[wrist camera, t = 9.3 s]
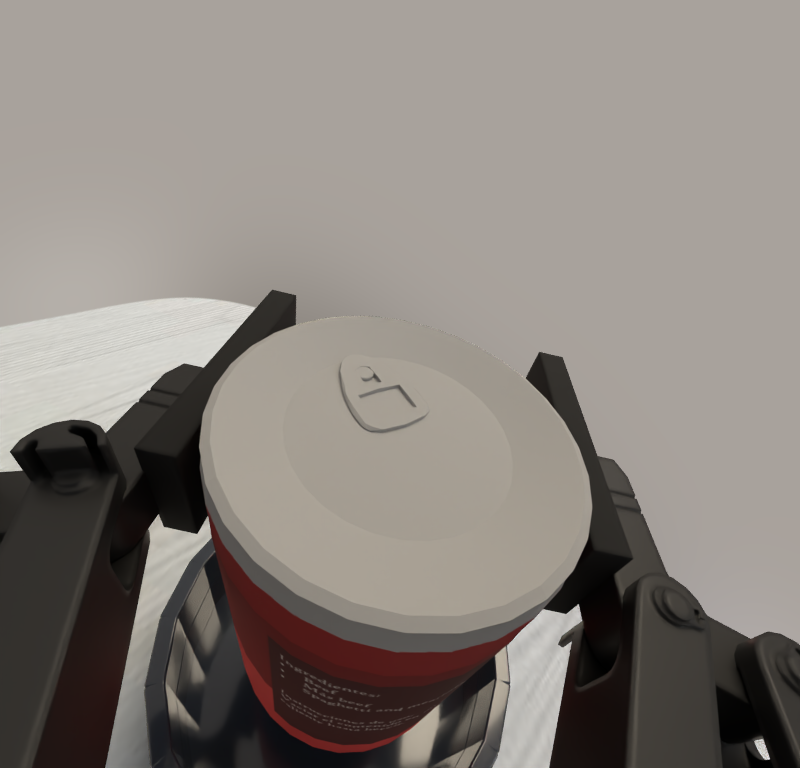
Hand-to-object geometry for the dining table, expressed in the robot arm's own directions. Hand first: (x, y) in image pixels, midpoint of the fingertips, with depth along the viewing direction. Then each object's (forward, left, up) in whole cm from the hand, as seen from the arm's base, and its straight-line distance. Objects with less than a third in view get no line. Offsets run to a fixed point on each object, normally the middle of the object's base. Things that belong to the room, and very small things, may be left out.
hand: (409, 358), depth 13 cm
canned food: (-2, +5, -9) cm, 10 cm away
